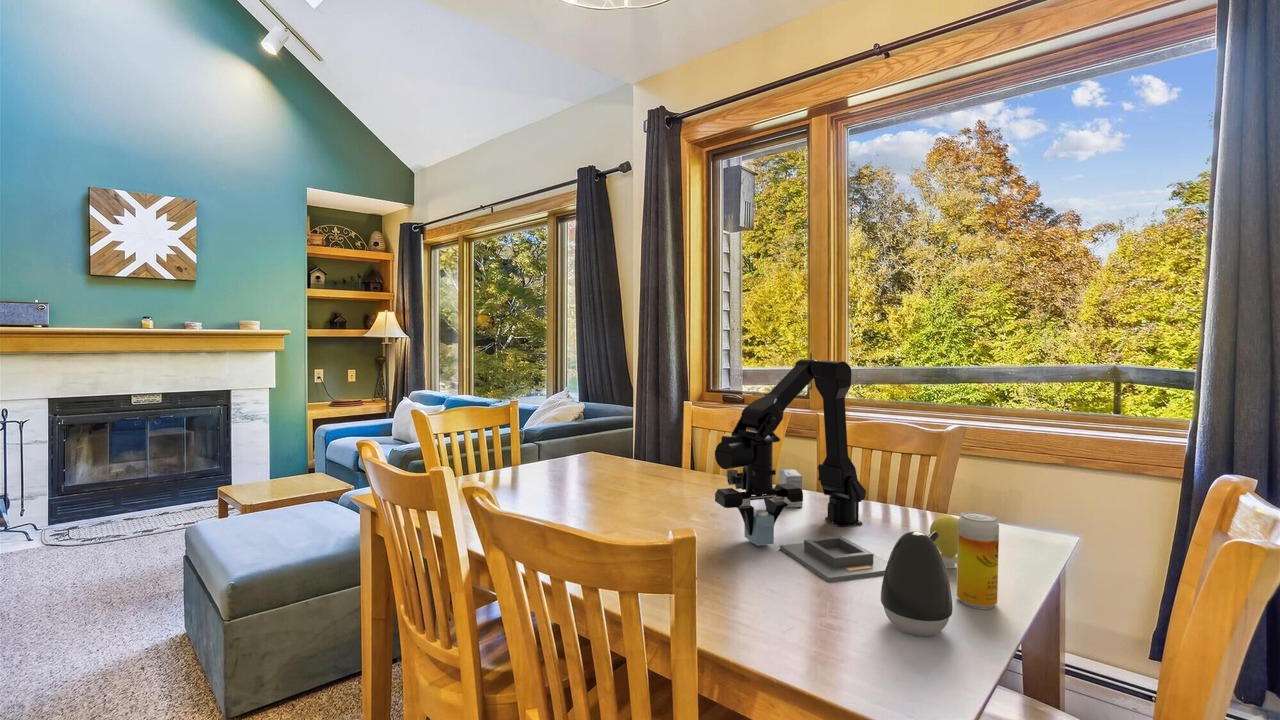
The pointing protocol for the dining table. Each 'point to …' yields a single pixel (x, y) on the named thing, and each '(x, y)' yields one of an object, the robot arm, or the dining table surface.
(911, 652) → the dining table surface
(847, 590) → the dining table surface
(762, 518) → the block
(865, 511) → the dining table surface
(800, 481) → the medicine box
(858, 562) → the chassis plate
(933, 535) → the dark egg-shaped diffuser
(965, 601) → the beer can
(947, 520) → the light bulb
